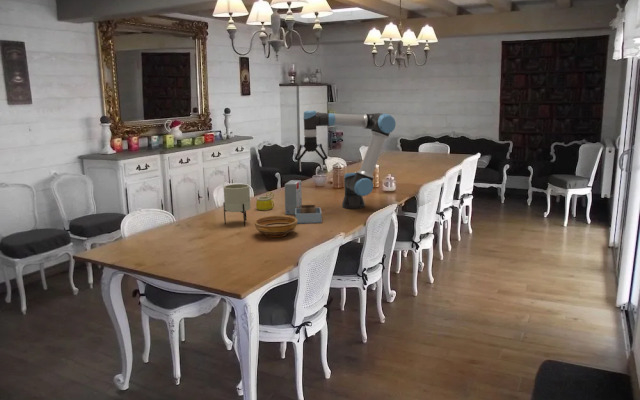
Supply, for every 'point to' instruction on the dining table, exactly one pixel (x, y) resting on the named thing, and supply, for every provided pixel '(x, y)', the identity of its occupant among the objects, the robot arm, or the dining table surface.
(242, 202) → the planter
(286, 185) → the hard drive box
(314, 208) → the walnut crate
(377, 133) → the robot arm
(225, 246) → the dining table surface
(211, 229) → the dining table surface
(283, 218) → the tan woven oval bowl
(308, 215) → the grey crate
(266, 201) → the mug
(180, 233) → the dining table surface
